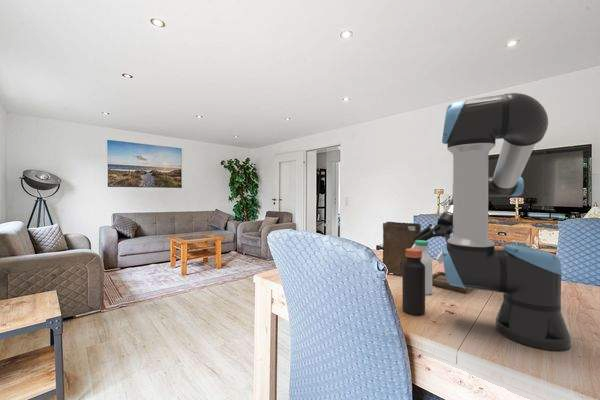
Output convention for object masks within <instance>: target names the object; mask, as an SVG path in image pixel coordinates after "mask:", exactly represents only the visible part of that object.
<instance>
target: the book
mask: <svg viewBox="0 0 600 400" xmlns="http://www.w3.org/2000/svg"><path fill="white" fill-rule="evenodd" d="M421 227H422V225H421V224H420V223H414V222H409V223H408V222H397V221H396V222H395V221H386V222H383V223H382V236H383V237H382V264H383V263H384V264H385V265H386V267H387V269H388V274H387V275H390V274H389V273H393V274H397V275H396V276H399V275H402V265H403V263H404V262H405V261H406V260H407V258H406V249H409V248H412V245H413V244H414V242H415V240H414V239H413V237H414V236H416V235H417V234H418V233H420V232H421V231H422V230H421Z"/></svg>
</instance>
